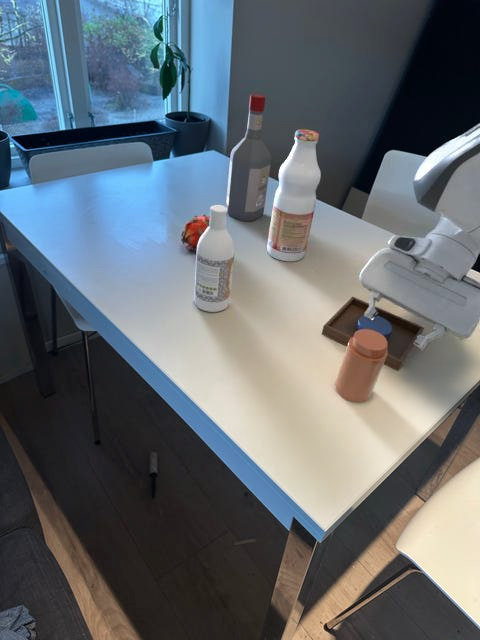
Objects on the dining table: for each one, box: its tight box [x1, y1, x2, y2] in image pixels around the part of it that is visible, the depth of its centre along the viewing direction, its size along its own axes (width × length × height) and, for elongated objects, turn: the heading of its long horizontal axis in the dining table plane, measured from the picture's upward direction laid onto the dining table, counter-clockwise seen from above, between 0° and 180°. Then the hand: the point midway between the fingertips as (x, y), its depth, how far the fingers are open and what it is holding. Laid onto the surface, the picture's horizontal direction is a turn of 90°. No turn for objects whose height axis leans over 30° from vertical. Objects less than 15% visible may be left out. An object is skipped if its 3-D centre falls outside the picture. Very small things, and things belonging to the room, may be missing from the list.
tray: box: [321, 296, 425, 372], centre depth 85 cm, size 15×13×2 cm
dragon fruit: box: [180, 213, 210, 251], centre depth 104 cm, size 8×8×12 cm
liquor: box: [225, 93, 272, 222], centre depth 115 cm, size 9×9×30 cm
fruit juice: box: [266, 129, 322, 262], centre depth 100 cm, size 9×9×28 cm
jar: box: [334, 329, 388, 403], centre depth 70 cm, size 6×6×11 cm
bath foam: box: [193, 204, 235, 313], centre depth 83 cm, size 7×7×20 cm
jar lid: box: [357, 316, 392, 340], centre depth 85 cm, size 6×6×2 cm
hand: (392, 332), depth 74 cm, fingers open, 8 cm apart
